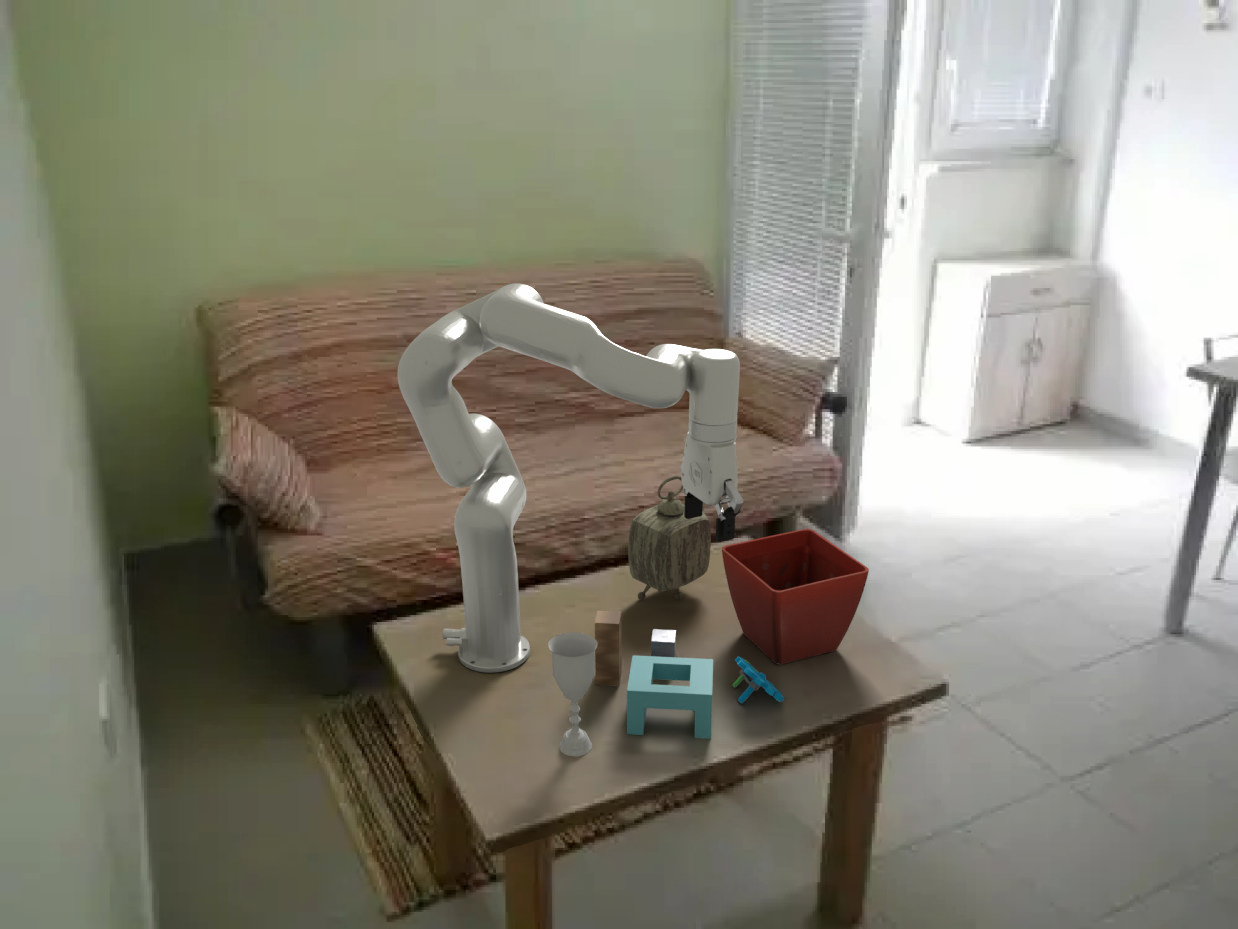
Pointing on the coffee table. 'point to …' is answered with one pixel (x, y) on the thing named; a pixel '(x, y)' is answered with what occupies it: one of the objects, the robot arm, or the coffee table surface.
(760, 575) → the plant pot
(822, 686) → the coffee table surface
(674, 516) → the tabletop clock
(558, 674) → the chalice
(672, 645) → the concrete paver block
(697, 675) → the bridge block
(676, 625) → the coffee table surface
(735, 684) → the gear
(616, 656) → the walnut pin
